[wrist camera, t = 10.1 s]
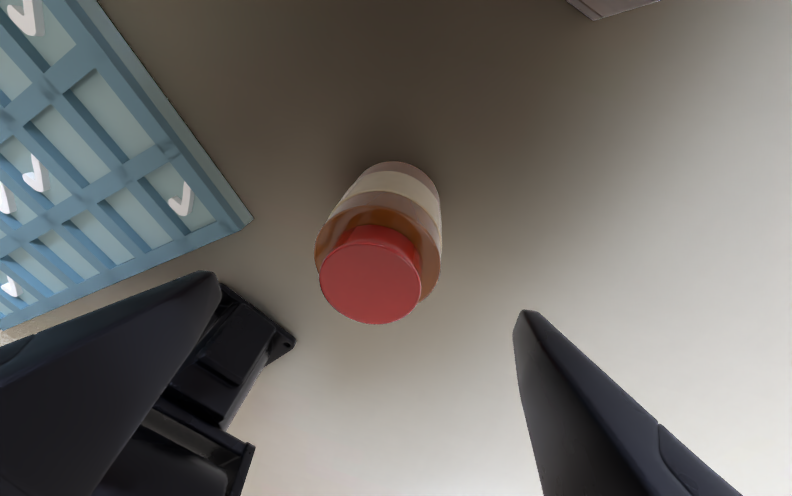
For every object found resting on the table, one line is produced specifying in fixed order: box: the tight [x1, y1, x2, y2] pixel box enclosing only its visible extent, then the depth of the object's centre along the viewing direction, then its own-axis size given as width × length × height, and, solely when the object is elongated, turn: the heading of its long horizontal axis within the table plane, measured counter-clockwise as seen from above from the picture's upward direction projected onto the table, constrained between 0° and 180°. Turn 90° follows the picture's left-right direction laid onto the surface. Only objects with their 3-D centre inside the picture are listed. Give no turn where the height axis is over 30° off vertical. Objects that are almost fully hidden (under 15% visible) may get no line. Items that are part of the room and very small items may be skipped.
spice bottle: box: [314, 161, 442, 324], centre depth 12 cm, size 4×4×6 cm
